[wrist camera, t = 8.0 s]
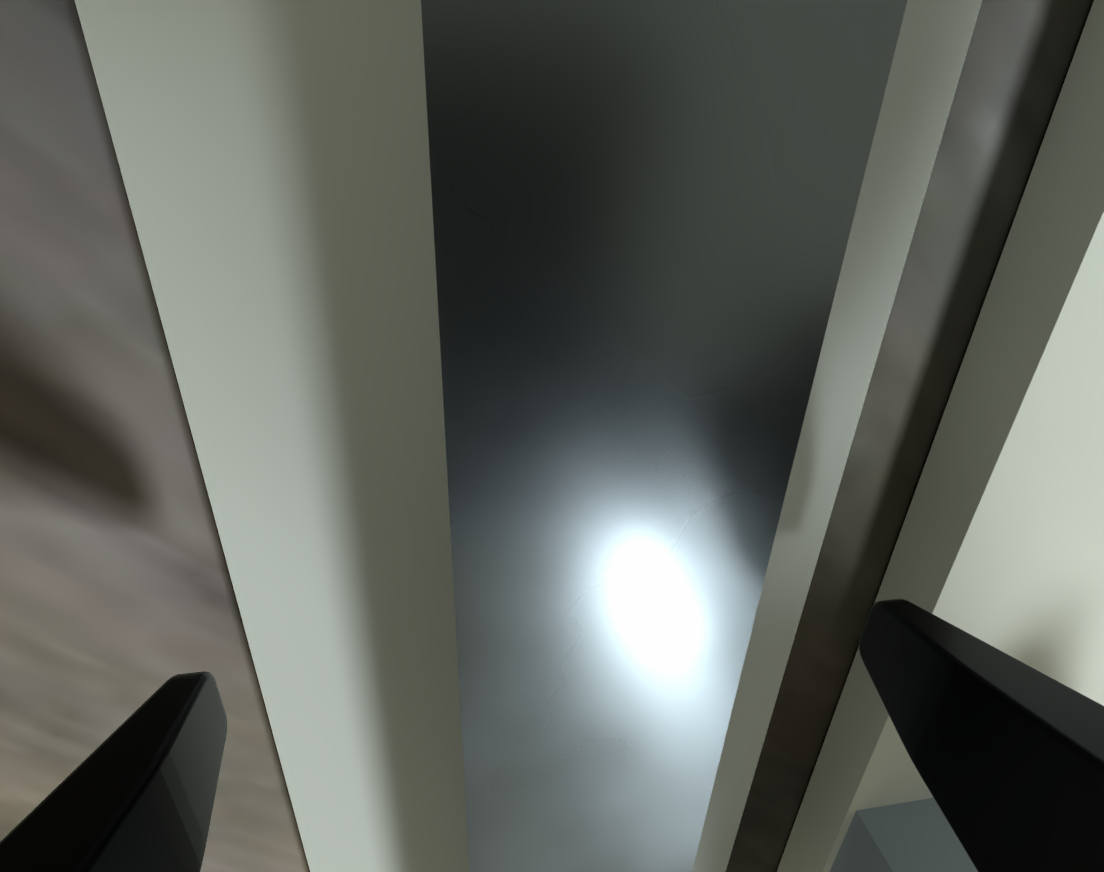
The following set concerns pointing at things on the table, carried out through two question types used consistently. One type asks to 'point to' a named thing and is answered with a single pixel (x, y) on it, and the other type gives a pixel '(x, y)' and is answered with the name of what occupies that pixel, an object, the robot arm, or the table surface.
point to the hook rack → (995, 501)
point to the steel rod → (627, 381)
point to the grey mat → (403, 381)
